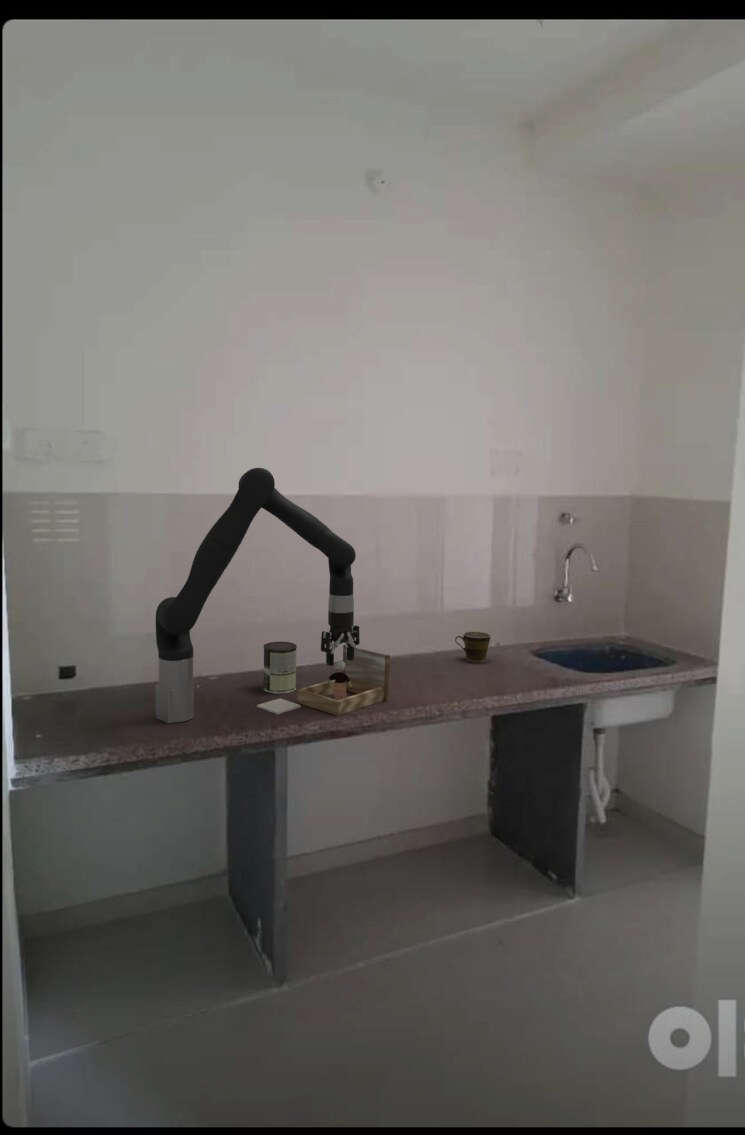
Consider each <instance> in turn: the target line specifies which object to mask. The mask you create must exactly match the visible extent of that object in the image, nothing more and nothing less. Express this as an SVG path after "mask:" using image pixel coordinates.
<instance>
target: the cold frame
mask: <svg viewBox="0 0 745 1135" xmlns="http://www.w3.org/2000/svg"><path fill="white" fill-rule="evenodd" d="M342 645H343V647H342V661H344V662H345V669H344V671H343V672H342V673H345V674H346V675H347V676H348V677H349V679H350V681H351V685H352V687H349V686H348V683H347V682H346V680H345V683H346V692H350V693H353V694H354V695H350V696H346V698H344V699H340V700H335V699H334V698H332V697H329V696H330V695H334V683H335V680H332V681H331V683H330V684H328V683H327V681H328V680H326V681H323V682H319V683H316V684H312V685H310V686H305V687H302V688H298V689H297V704H300V705H304V706H306V707H307V706H308V707H310V708H313V709H316V710H320V711H322V712H326V713H329V714H331V715H333V716H334V715H335V716H336V717H337V716H338V717H339V716H342V715H344V714H347V713H350V712H354V711H356V710H360V709H361V708H365V707H367V706H371V705H373V704H377V703H380V702H383V701H386V702H387V701H389V696H390V695H389V694H390V669H391V666H390V664H391V662H390V661H391V655H390V654H386V653H382V652H378V651H373V650H369V649H365V648H361V647H358V646H356V647H355V648H354V658H353V660H352V661H350V660H347V648H348V646H347V645H346V643H344V644H342Z"/></svg>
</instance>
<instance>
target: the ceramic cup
mask: <svg viewBox="0 0 745 1135" xmlns="http://www.w3.org/2000/svg"><path fill="white" fill-rule="evenodd" d="M462 635H463V636H461V635H458V636H456V637H455V640H454V641H455V643H456V644H457V645H459V646H460V648H461V649H462V650H463V651H464V652H465V657H466V658H465V659H466V661H467V662H468V663H471V662H473V663H472V664H483V663H485V662H486V658H487V654H488V648H489V646H490V641H491V634H489V633H487V632H481V631H466V632H463V634H462ZM458 638H459V639H461V640H462V641H463V643H464V647H463V646H462V645H461V644H460V643H459V642H457V639H458ZM482 662H483V663H482Z"/></svg>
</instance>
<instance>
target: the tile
mask: <svg viewBox="0 0 745 1135" xmlns="http://www.w3.org/2000/svg"><path fill="white" fill-rule="evenodd" d="M301 707H302V704H300V703H295V702H292V701H289V700H286V699H284V698H280V697H279V698H277V699H273V700H270V701H266V702H263V703H260V704H257V705H256V708H257V709H258V708H259V709H261V710H264V711H267V712H270V713H272V714H275V715H280V714H284V713H286V712H290V711H293V710H297V709H299V708H301Z"/></svg>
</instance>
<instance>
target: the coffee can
mask: <svg viewBox="0 0 745 1135" xmlns="http://www.w3.org/2000/svg"><path fill="white" fill-rule="evenodd" d="M297 648H298V645H297V644H296V643H293V642H290V641H271V642H267V643H265V644H263V688H262V689H263V691H265V692H266V693H269V694H275V695H276V694H277V695H278V694H279V695H282V694H289V693H292V692H295V691H296V690H297V686H296V685H297V681H296V680H297Z"/></svg>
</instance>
